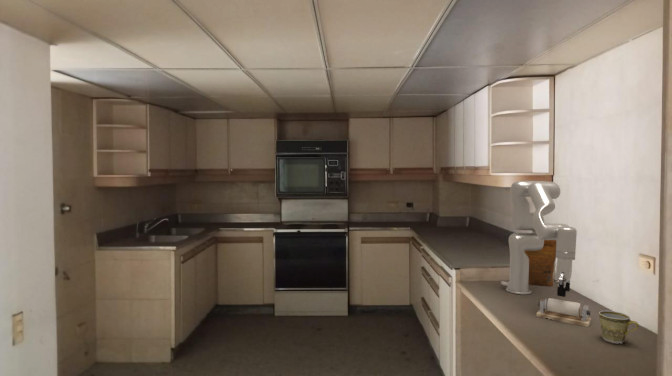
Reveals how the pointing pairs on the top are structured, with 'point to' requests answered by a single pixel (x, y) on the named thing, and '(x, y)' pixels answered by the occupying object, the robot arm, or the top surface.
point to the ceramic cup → (615, 326)
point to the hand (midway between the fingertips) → (563, 293)
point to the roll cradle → (581, 320)
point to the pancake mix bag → (542, 264)
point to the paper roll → (563, 307)
